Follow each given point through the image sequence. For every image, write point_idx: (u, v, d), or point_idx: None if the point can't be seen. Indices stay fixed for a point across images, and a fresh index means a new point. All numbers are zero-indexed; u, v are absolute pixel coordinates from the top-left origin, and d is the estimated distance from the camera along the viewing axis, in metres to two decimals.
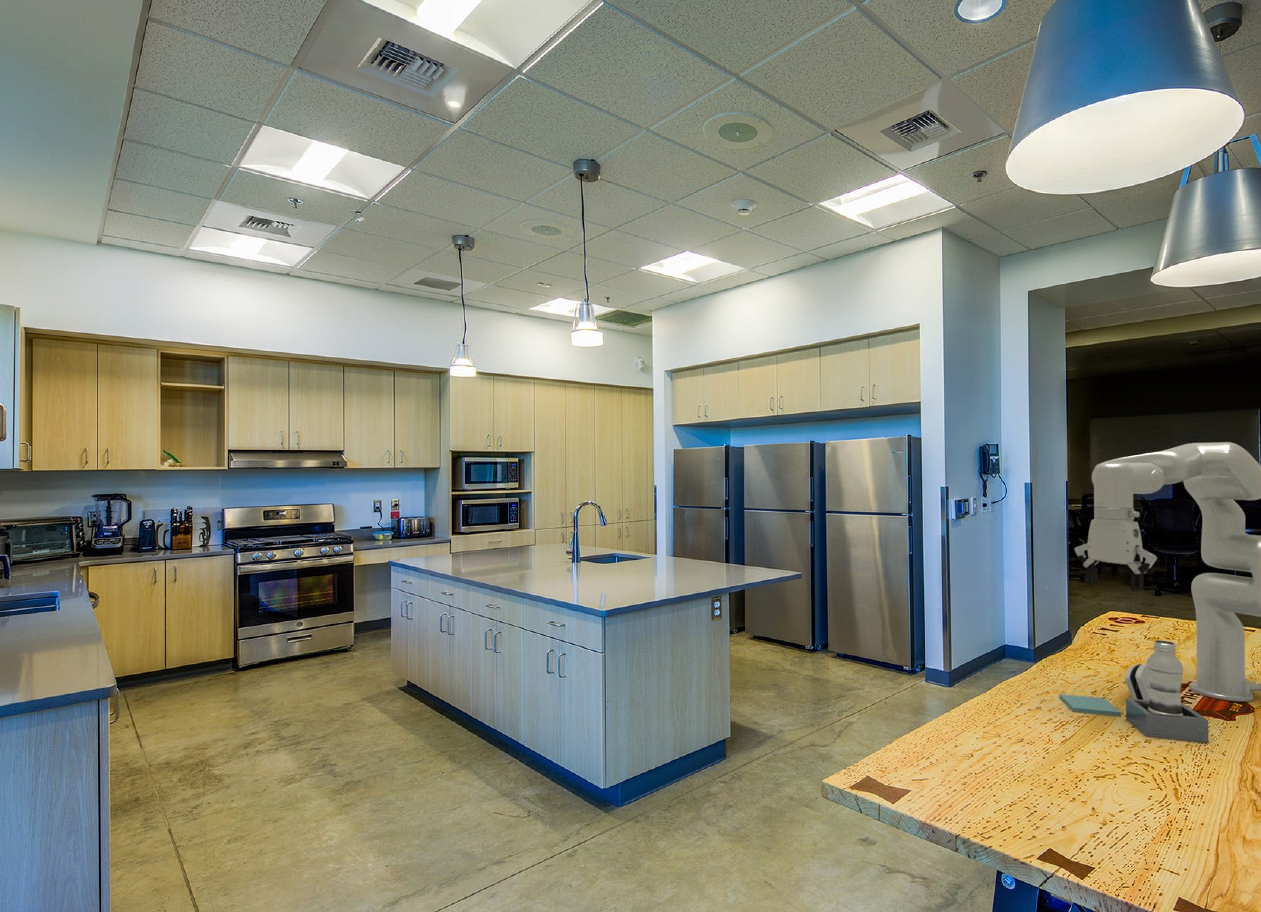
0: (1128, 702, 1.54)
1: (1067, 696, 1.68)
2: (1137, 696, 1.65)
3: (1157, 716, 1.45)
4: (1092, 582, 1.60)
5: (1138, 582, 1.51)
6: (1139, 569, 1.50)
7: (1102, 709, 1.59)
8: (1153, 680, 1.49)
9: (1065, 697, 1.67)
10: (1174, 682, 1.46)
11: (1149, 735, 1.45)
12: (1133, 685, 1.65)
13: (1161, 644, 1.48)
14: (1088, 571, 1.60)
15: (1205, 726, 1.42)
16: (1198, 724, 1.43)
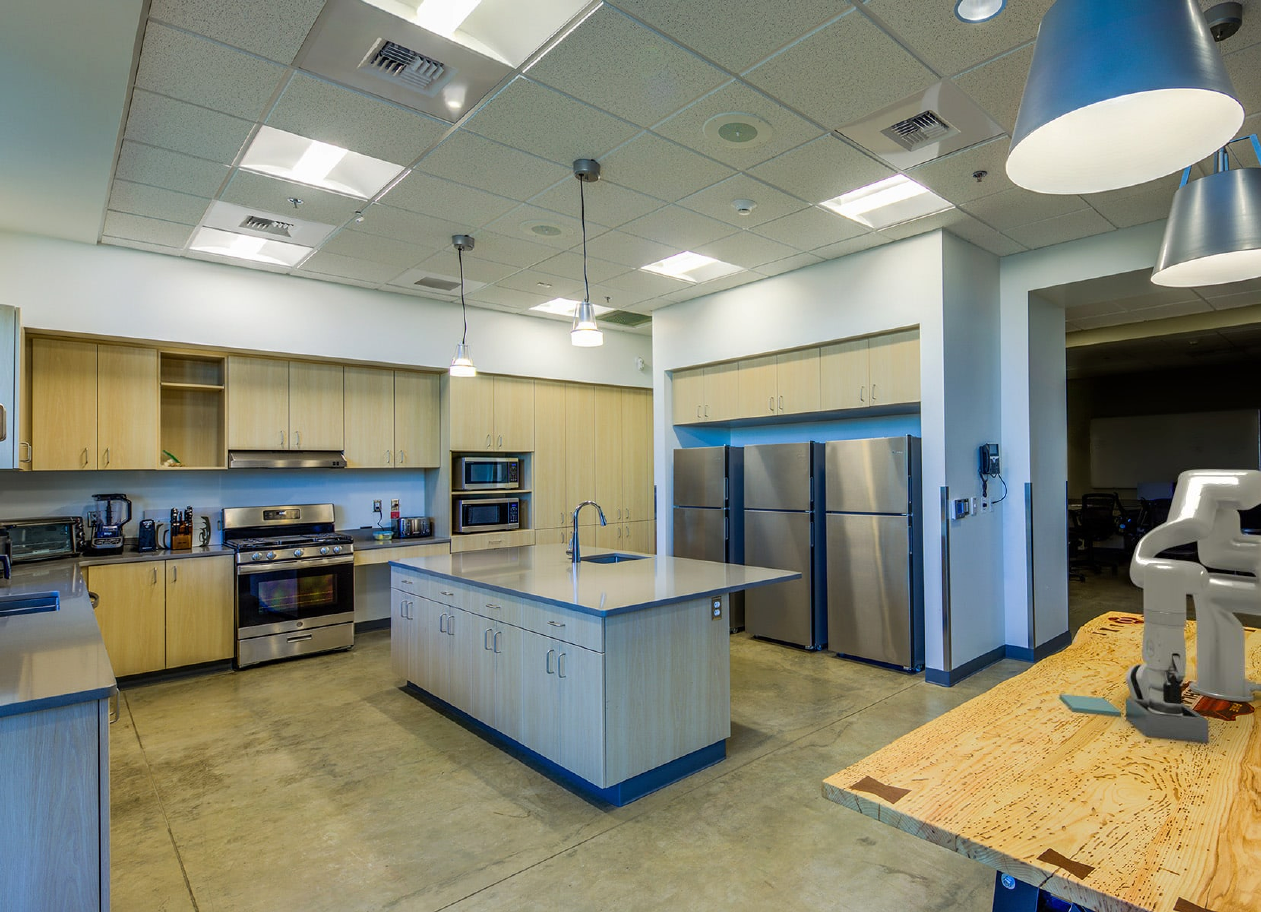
0: (1128, 702, 1.54)
1: (1067, 696, 1.68)
2: (1138, 697, 1.64)
3: (1157, 716, 1.45)
4: None
5: None
6: None
7: (1102, 709, 1.59)
8: (1153, 680, 1.49)
9: (1065, 697, 1.67)
10: None
11: (1149, 735, 1.45)
12: (1134, 686, 1.65)
13: None
14: None
15: (1205, 726, 1.42)
16: (1198, 724, 1.43)
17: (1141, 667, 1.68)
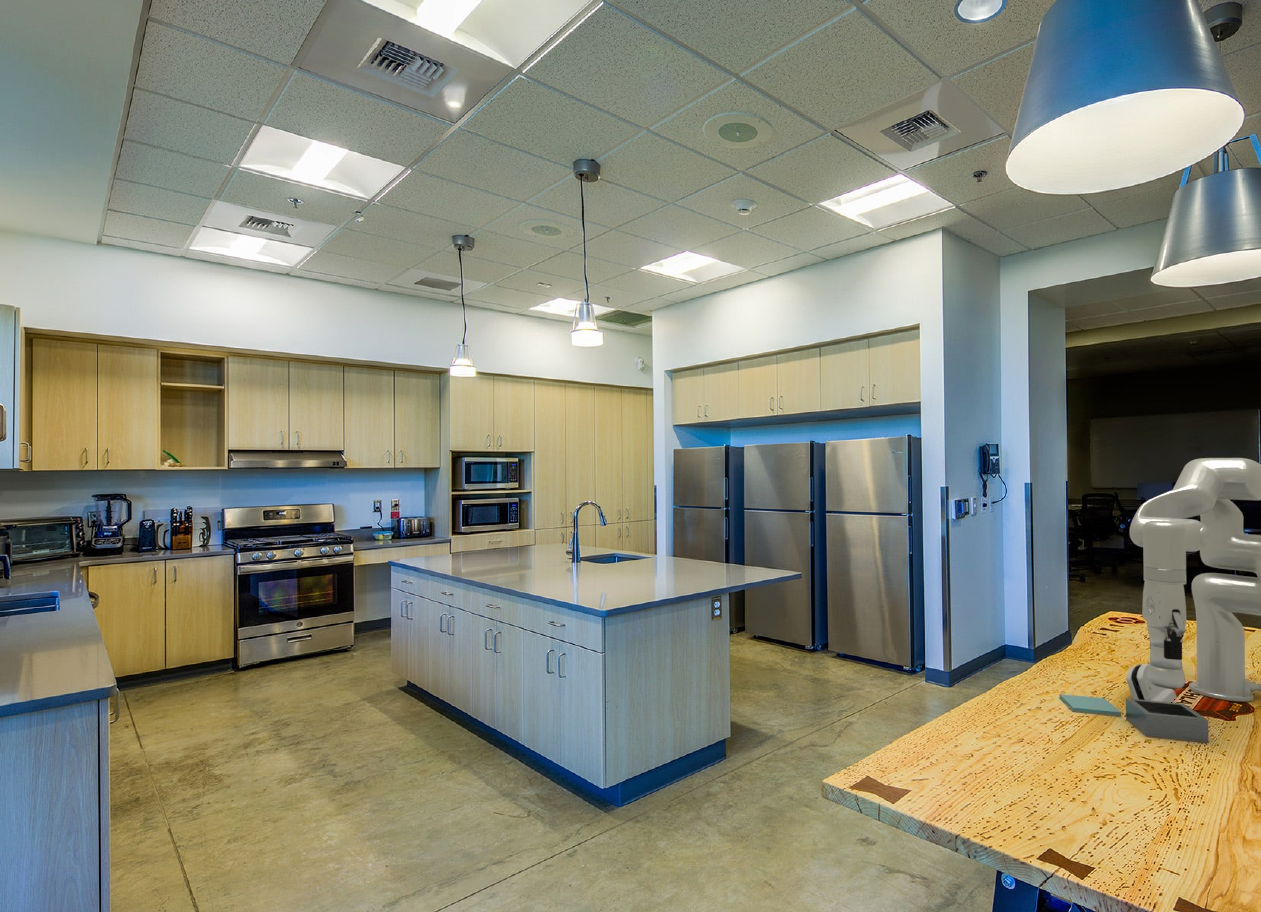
0: (1128, 702, 1.54)
1: (1067, 696, 1.68)
2: (1139, 697, 1.64)
3: (1157, 716, 1.45)
4: None
5: None
6: None
7: (1102, 709, 1.59)
8: (1153, 637, 1.49)
9: (1065, 697, 1.67)
10: None
11: (1149, 735, 1.45)
12: (1134, 686, 1.65)
13: None
14: None
15: (1205, 726, 1.42)
16: (1198, 724, 1.43)
17: (1141, 667, 1.68)
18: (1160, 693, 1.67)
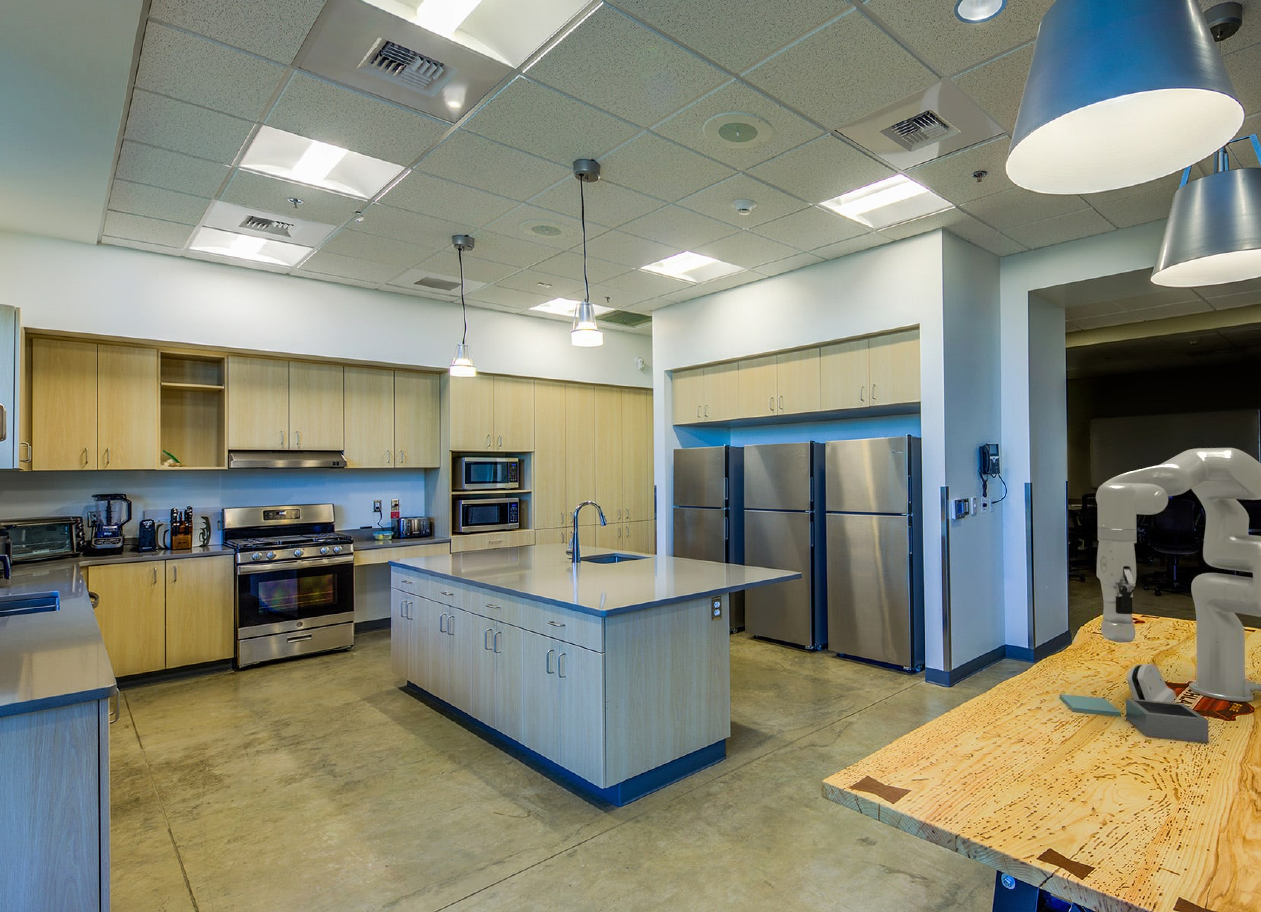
0: (1128, 702, 1.54)
1: (1067, 696, 1.68)
2: (1139, 697, 1.64)
3: (1157, 716, 1.45)
4: None
5: None
6: None
7: (1102, 709, 1.59)
8: (1106, 594, 1.58)
9: (1065, 697, 1.67)
10: None
11: (1149, 735, 1.45)
12: (1135, 686, 1.65)
13: None
14: None
15: (1205, 726, 1.42)
16: (1198, 724, 1.43)
17: (1142, 667, 1.68)
18: (1160, 693, 1.67)
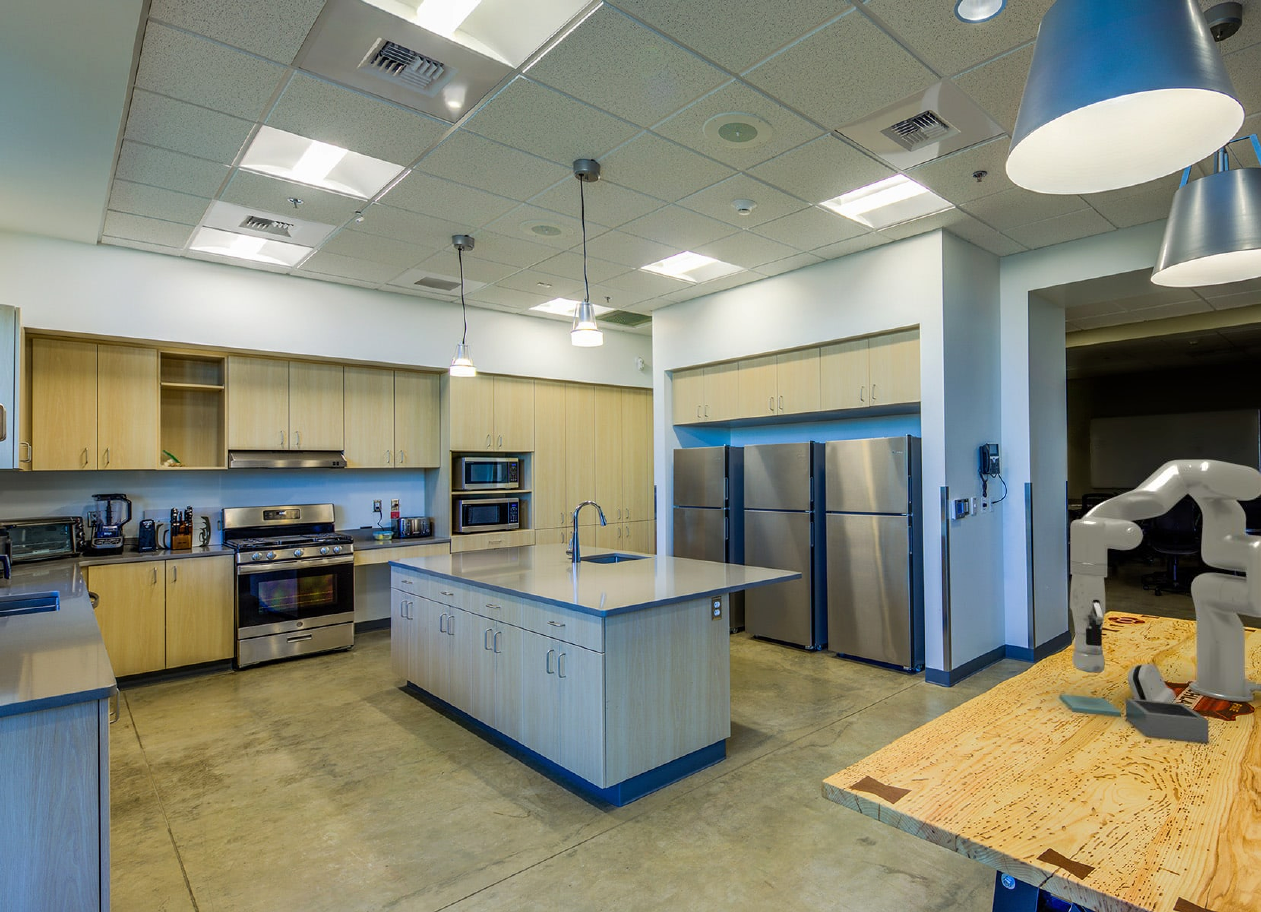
0: (1128, 702, 1.54)
1: (1067, 696, 1.68)
2: (1140, 698, 1.63)
3: (1157, 716, 1.45)
4: None
5: None
6: None
7: (1102, 709, 1.59)
8: (1077, 626, 1.63)
9: (1065, 697, 1.67)
10: None
11: (1149, 735, 1.45)
12: (1136, 687, 1.64)
13: None
14: None
15: (1205, 726, 1.42)
16: (1198, 724, 1.43)
17: (1142, 668, 1.67)
18: (1161, 693, 1.67)
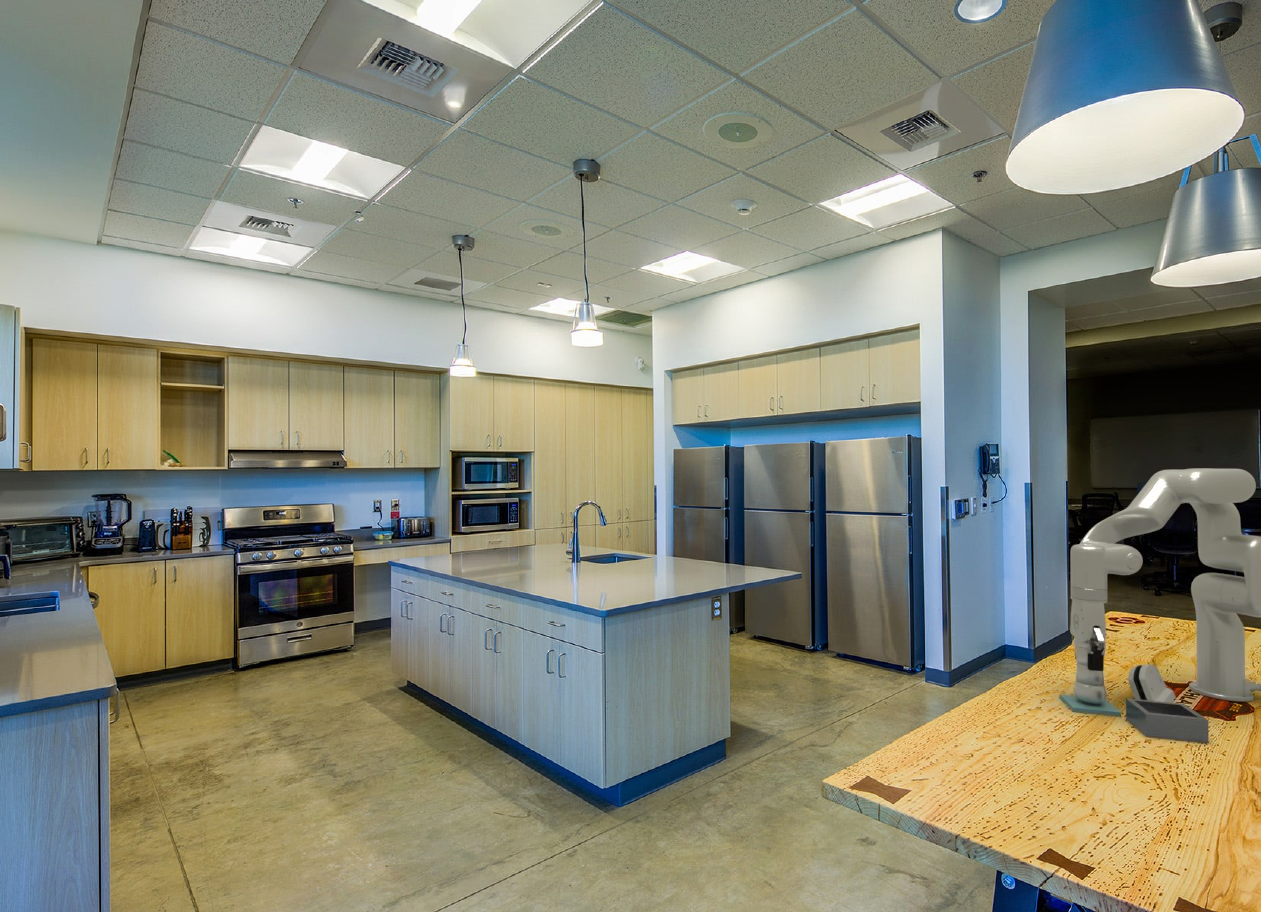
0: (1128, 702, 1.54)
1: (1067, 696, 1.68)
2: (1141, 698, 1.63)
3: (1157, 716, 1.45)
4: None
5: None
6: None
7: (1102, 709, 1.59)
8: (1079, 656, 1.63)
9: (1065, 697, 1.67)
10: None
11: (1149, 735, 1.45)
12: (1137, 687, 1.64)
13: None
14: None
15: (1205, 726, 1.42)
16: (1198, 724, 1.43)
17: (1143, 668, 1.67)
18: (1161, 694, 1.67)
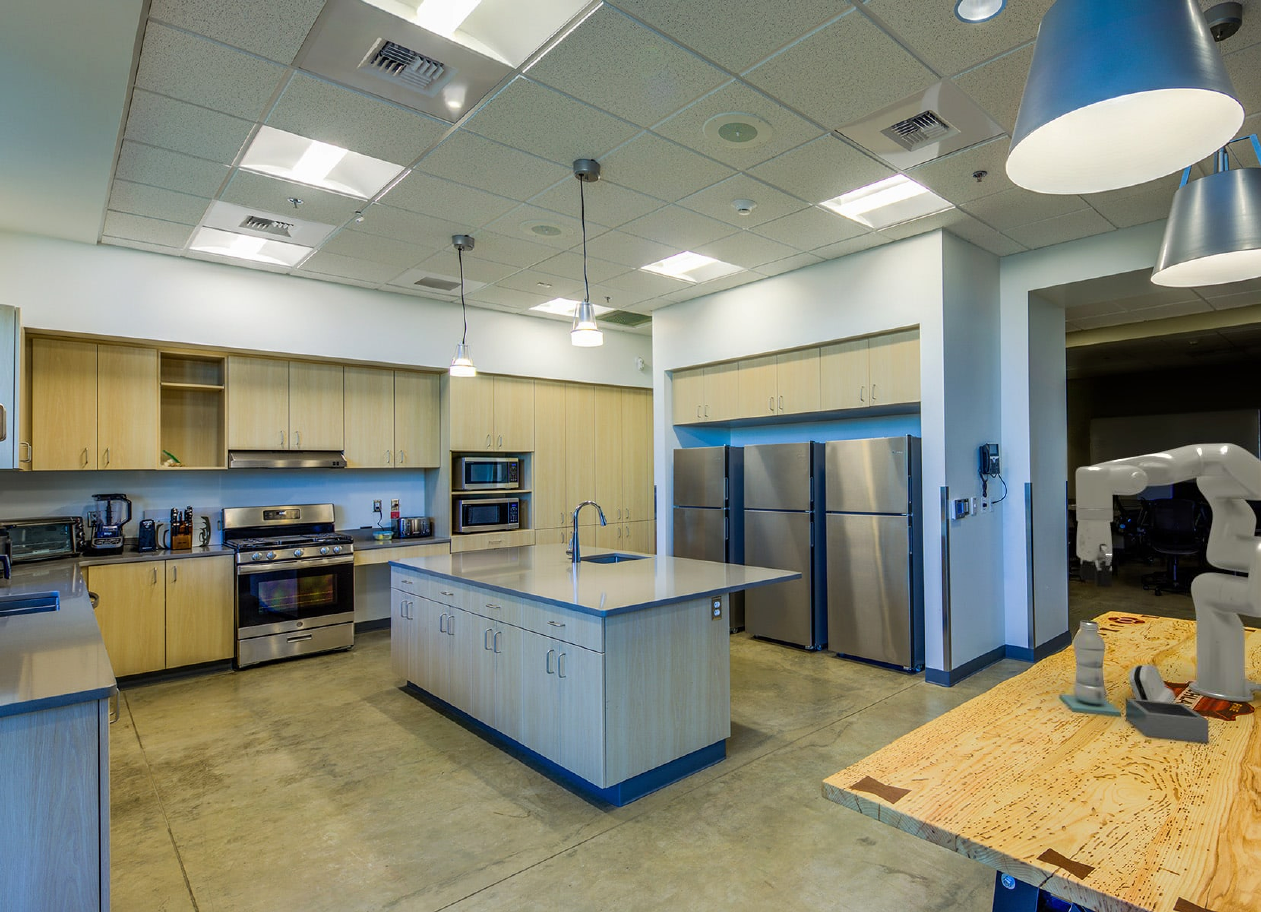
0: (1128, 702, 1.54)
1: (1067, 696, 1.68)
2: (1142, 698, 1.63)
3: (1157, 716, 1.45)
4: None
5: None
6: None
7: (1102, 709, 1.59)
8: (1078, 657, 1.63)
9: (1065, 697, 1.67)
10: (1096, 658, 1.61)
11: (1149, 735, 1.45)
12: (1138, 687, 1.64)
13: (1085, 624, 1.63)
14: None
15: (1205, 726, 1.42)
16: (1198, 724, 1.43)
17: (1143, 668, 1.67)
18: (1161, 694, 1.67)
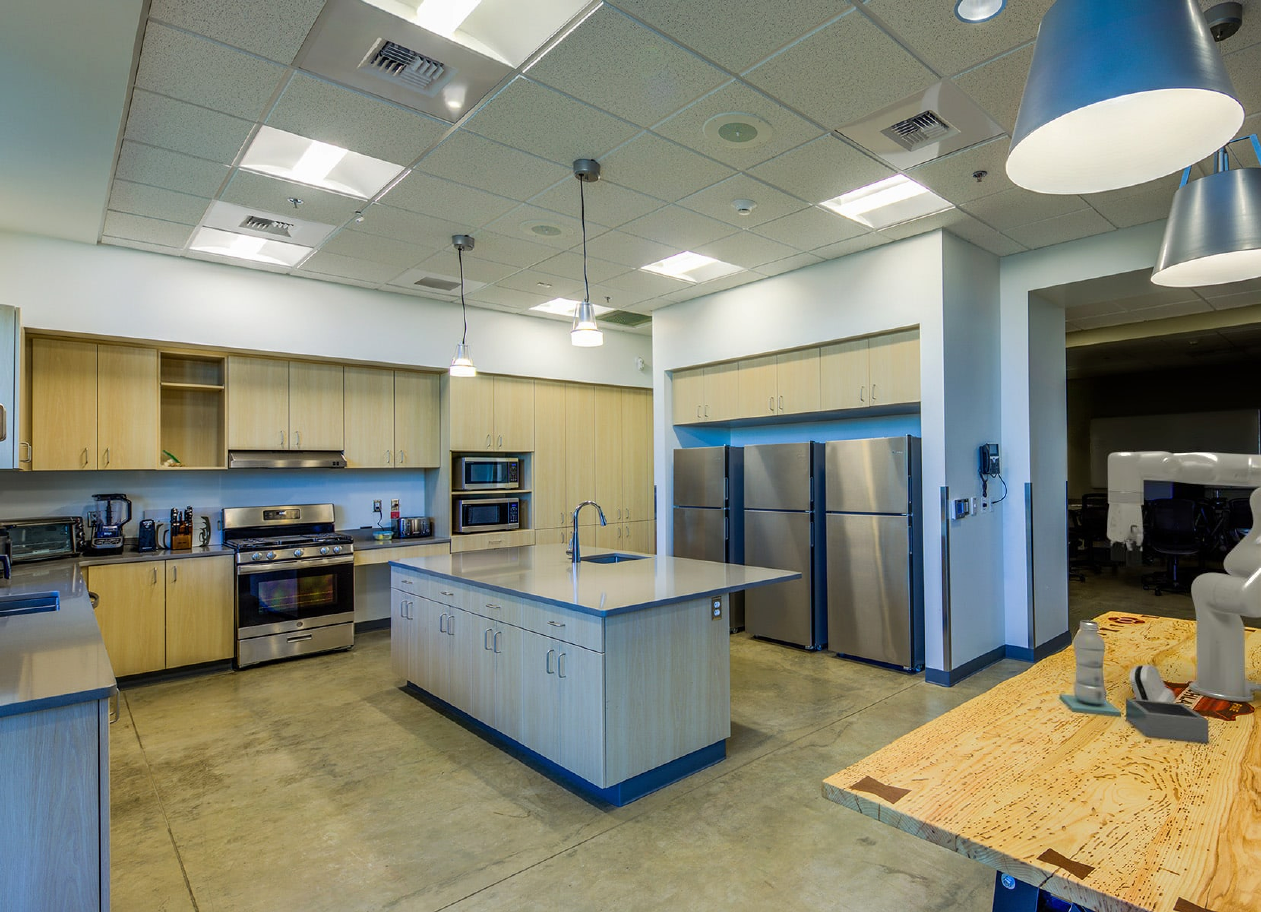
0: (1128, 702, 1.54)
1: (1067, 696, 1.68)
2: (1143, 699, 1.63)
3: (1157, 716, 1.45)
4: None
5: None
6: None
7: (1102, 709, 1.59)
8: (1078, 657, 1.63)
9: (1065, 697, 1.67)
10: (1096, 658, 1.61)
11: (1149, 735, 1.45)
12: (1138, 688, 1.63)
13: (1085, 624, 1.63)
14: None
15: (1205, 726, 1.42)
16: (1198, 724, 1.43)
17: (1144, 668, 1.67)
18: (1161, 694, 1.66)
